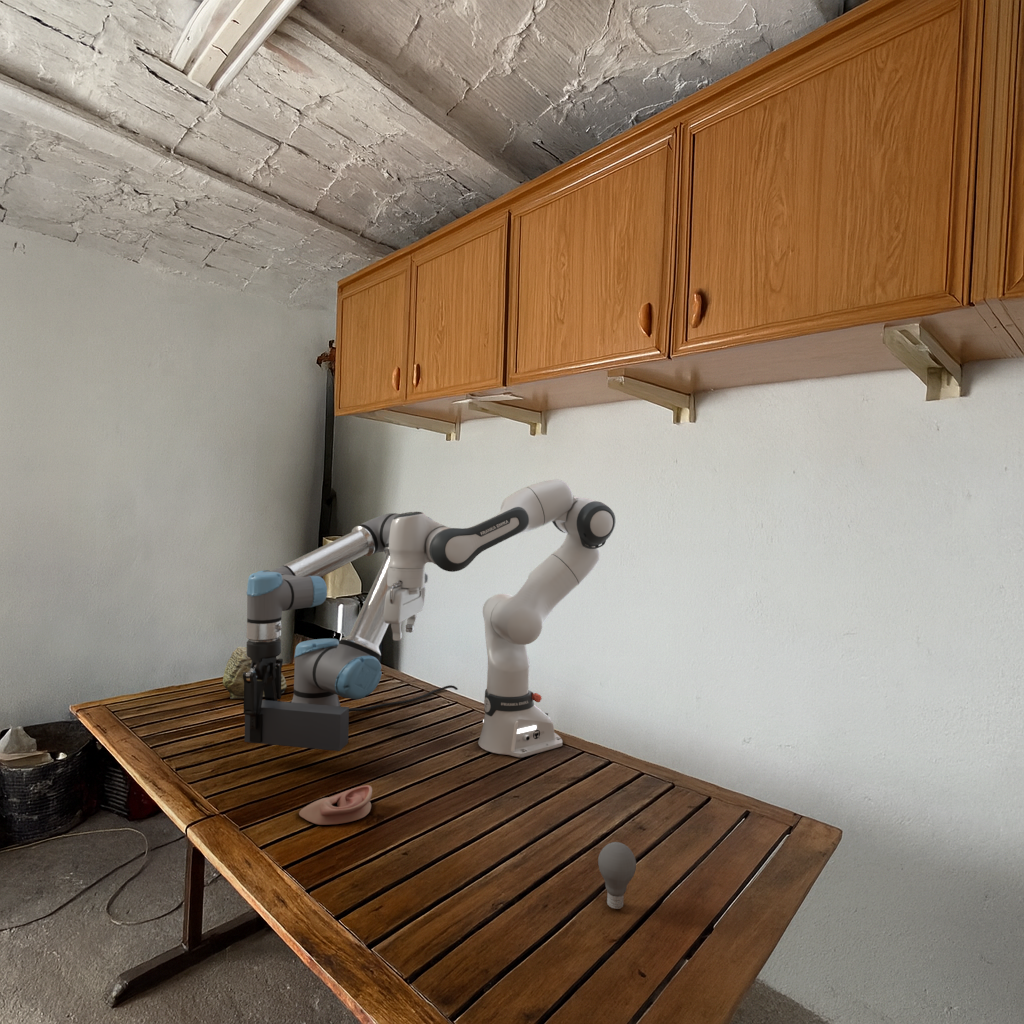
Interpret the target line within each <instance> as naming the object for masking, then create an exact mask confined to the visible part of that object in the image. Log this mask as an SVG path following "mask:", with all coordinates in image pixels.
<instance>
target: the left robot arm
mask: <svg viewBox="0 0 1024 1024" xmlns="http://www.w3.org/2000/svg"><path fill="white" fill-rule="evenodd" d="M399 514H400V513H396V512H395V513H394V512H392V513H384V514H381V515H379V516H376V517H373V518H371V519H368V520H366V521H364V522H362V523H360V524H358V525H356V526H354V527H353V528H352V529H351V532H349V533H347V534H345V535H343V536H341V537H339V538H337V539H335V540H333V541H331V542H329V543H327V544H325V545H323V546H320V547H318V548H316V549H314V550H313V551H310V552H308V553H305V554H304V555H302V556H299V557H298V558H296V559H294V560H291V561H289V562H287V563H285V564H283V565H280V566H278V567H276V568H274V569H271V570H267V569H265V570H258V571H257V572H256V571H255V572H253V573H251V574H250V575H249V576H248V578H247V579H248V580H247V588H246V639H248V640H247V641H246V647H247V656H248V657H250V658H251V660H252V662H251V666H250V671H249V672H244V673H243V680H244V698H243V715H244V716H245V715H250V742H257V743H256V744H261V742H262V726H263V714H260V712H261V705H262V700H263V699H264V700H270V701H279V700H281V699H282V693H281V673H282V668H283V662H284V659H283V658H281V657H280V658H278V656H280V655H281V653H282V639H281V638H280V637H281V636H282V629H283V626H282V618H283V617H282V615H283V612H285V611H286V612H287V611H291V610H298V609H299V610H300V609H305V608H314V607H317V606H320V605H322V604H323V603H324V602H325V601H326V600H327V596H328V586H327V583H326V581H325V579H324V578H322V577H324V576H327V575H329V574H330V573H332V572H334V571H336V570H337V569H340V568H342V567H344V566H345V565H348V564H349V563H351V562H353V561H355V560H357V559H360V558H361V557H370V556H372V555H375V554H377V553H383V554H384V556H385V557H384V560H383V562H382V564H381V566H380V569H379V571H378V572H377V575H376V576H375V579H374V581H373V584H372V586H371V588H370V590H369V592H368V594H367V596H366V598H365V600H364V602H363V605H362V607H361V609H360V611H359V613H358V615H357V618H356V619H355V621H354V624H353V625H352V628H351V630H350V632H349V634H348V635H346V636H344V637H341V638H340V640H339V639H337V638H317V639H316V638H315V639H308V640H304V641H300V642H299V643H298V644H297V645H296V646H295V650H294V655H293V657H294V672H293V673H294V674H293V695H292V696H293V697H292V699H291V702H294V703H305V704H317V705H328V706H340V707H342V706H341V702H340V699H339V697H341V698H344V699H351V700H362V699H364V698H366V697H368V696H369V695H371V694H372V693H373V692H374V691H375V690H376V688H377V687H378V685H379V683H380V681H381V680H382V679H381V678H382V673H383V672H382V664H381V662H380V659H381V656H382V653H381V650H380V645H381V643H382V641H383V638H384V636H385V634H386V632H387V629H388V627H389V625H390V624H387V623H385V622H384V607H385V598H386V594H387V592H388V590H390V589H391V588H392V587H389V586H388V585H387V577H388V563H389V560H390V552H389V535H390V527H391V523H392V520H393V518H394V517H395V516H397V515H399ZM427 517H428V518H430V519H432V518H431V517H430V516H427ZM258 680H262V681H258ZM446 689H454V690H455V691H457V690H459V688H458V687H457V686H455V685H452V684H451V685H449V684H448V685H446V686H443V687H439V688H437V689H433V690H431V691H429V692H427V693H424V694H422V695H419V696H416V697H413V698H409V699H403V700H399V701H398V700H397V701H392V702H391V701H390V702H385V703H380V704H375V705H371V706H367V707H359V708H358V707H356V708H355V707H353V708H352V707H351V708H350V707H349V712H365V711H369V710H370V711H371V710H374V709H379V708H382V707H388V706H394V705H402V704H407V703H408V704H409V703H411V702H415V701H418V700H421V699H423V698H427V697H429V696H431V695H432V694H434V693H437V692H441V691H444V690H446ZM263 691H264V695H265V697H263ZM276 693H277V694H276ZM250 742H249V743H250Z"/></svg>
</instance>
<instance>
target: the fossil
mask: <svg viewBox="0 0 1024 1024" xmlns="http://www.w3.org/2000/svg"><path fill="white" fill-rule="evenodd" d="M251 662H252V660H251V658H250V657H248V656H247V646H246V647H245V646H238V647H237V648H236V649H235V650H233V651H232V653H231V656H230V657H229V659H228V660H227V663H226V666H225V668H224V671H223V675H222V676H223V677H222V685H223V687H224V688H225V690H226V691H228V693H229V698H230V699H244V680H243V673H244V672H249V671H250V666H251ZM258 681H262V680H258ZM287 687H288V686H287V680H286V678H285V676H284V674H283V673H282V672H281V694H284V693H285V691H286V689H287ZM276 694H277V693H276ZM263 698H265V695H264V691H263Z"/></svg>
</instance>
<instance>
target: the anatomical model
mask: <svg viewBox="0 0 1024 1024" xmlns="http://www.w3.org/2000/svg"><path fill="white" fill-rule="evenodd" d="M372 795H373V787H372V786H371V785H369V784H367V785H366V784H365V785H361V786H356V787H354V788H351V789H350V788H349V789H347V790H345V791H341V792H340V793H337V794H334V795H332V796H329V797H328V796H327V797H323V798H320V799H317V800H315V801H313V802H311V803H309V804H307V805H306V806H304V807H303V808H301V809H300V810H299V812H298V815H299V817H300V818H302V819H304V820H306V821H307V822H310V823H311V824H315V825H319V826H328V825H339V824H346V823H351V822H354V821H357V820H361V819H363V818H365V817H366V816H367V815H368V814H369V813H370V812H371V809H372V803H371V798H372V797H373V796H372Z"/></svg>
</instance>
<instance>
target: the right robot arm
mask: <svg viewBox="0 0 1024 1024" xmlns="http://www.w3.org/2000/svg"><path fill="white" fill-rule="evenodd" d="M398 514H399V515H397V516H395V517H394V518H393V520H392V523H391V527H390V535H389V552H390V560H389V563H388V577H387V585H388V586H389V587H392V588H391V589H390V590H388V592H387V594H386V598H385V607H384V622H385V623H387V624H389V625H390V628H391V633H392V640H393V641H395V642H399V641H401V640H402V639H403V632H402V625H403V623H402V622H404V621H406V624H405V632H406V633H413V632H414V631H415V624H416V620H417V618H418V617H417V615H418V613H420V612H422V611H423V609H424V606H425V598H426V590H427V589H426V588H427V587H426V586H427V585H426V584H427V583H428V582H429V574H427V573H426V565H427V564H428V563H432V564H434V565H436V566H437V567H438V568H439V569H441V570H443V571H445V572H451V573H454V572H459V571H462V570H464V569H465V568H467V567H468V566H469V565H470V564H472V562H473V561H474V560H475V559H476V558H477V557H478V556H479V555H480V554H481V553H482V552H485V551H486V550H488V549H490V548H492V547H495V546H496V545H498V544H500V543H502V542H504V541H506V540H509V539H510V538H512V537H515V536H518V535H521V534H525V533H528V532H529V533H530V532H531V531H534V530H538V529H539V528H542V527H544V526H546V525H548V524H550V523H552V524H553V525H554V527H555V528H556V529H557V530H558V531H559V532H561V533H564V534H566V536H565V537H564V538H565V539H564V540H563V543H562V544H561V545H560V546H559V547H558V548H557V549H556V550H554V551H553V552H552V553H551V554H549V555H548V556H547V557H546V558H545V559H544V560H543V561H541V562H540V564H538V565H537V566H536V567H535V568H534V569H532V570H531V571H530V573H529V574H528V576H527V579H526V580H525V582H524V583H523V585H522V586H521V587H520V589H519V590H518V591H517V592H516V593H514V595H513V594H511V593H507V592H506V593H503V592H501V593H496V594H493V595H491V596H489V597H488V598H487V599H486V600H485V602H484V604H483V605H482V617H483V623H484V635H485V645H486V655H487V670H486V671H487V672H486V673H487V674H486V689H485V690H484V699H483V712H484V717H483V719H482V727H481V731H480V736H479V739H478V741H477V744H478V746H479V747H480V748H481V749H482V750H484V751H486V752H490V753H493V754H498V755H507V756H512V757H515V758H525V757H529V756H532V755H536V754H539V753H543V752H546V751H550V750H555V749H557V748H561V747H563V739H562V737H561V736H560V735H559V734H558V733H556V732H555V726H554V723H553V720H552V718H551V717H550V716H549V712H545V711H543V710H542V709H541V708H539V707H538V706H537V705H535V702H536V703H540V702H541V701H542V699H543V698H542V696H541V694H539V693H537V692H535V693H534V692H533V691H531V690H530V666H531V664H530V658H529V654H528V650H527V645H529V644H532V643H533V642H535V641H536V640H537V639H538V638H539V637H540V635H541V633H542V630H543V625H544V624H545V622H546V621H547V619H548V618H549V617H550V615H551V614H552V612H553V611H554V610H555V608H556V607H557V606H558V605H559V604H560V603H561V602H562V601H563V600H564V599H565V598H566V597H567V596H569V594H571V592H573V591H574V590H575V589H576V588H577V587H578V586H579V585H580V584H581V583H583V581H584V580H585V579H586V578H587V577H588V576H589V575H590V574H591V573H592V571H593V570H594V569H595V568H596V566H597V565H598V563H599V561H600V558H601V552H600V549H599V548H601V547H603V546H604V545H605V544H606V542H607V540H609V538H610V536H611V535H612V534H613V532H614V529H615V526H616V515H615V513H614V511H613V510H612V508H611V507H610V506H609V505H607V504H605V503H604V502H601V501H599V500H598V501H597V500H594V499H593V498H589V497H582V496H576V495H573V491H572V488H571V487H570V486H569V484H568V483H567V482H565V480H562V479H561V478H560V479H559V478H553V479H548V480H543V481H539V482H536V483H533V484H530V485H527V486H525V487H523V488H520V489H518V490H516V491H514V492H513V493H511V494H510V495H508V496H507V497H505V498H504V499H503V500H502V502H501V504H500V511H499V512H498V513H497V514H496V515H494V516H492V517H489V518H487V519H485V520H483V521H481V522H478V523H477V524H474V525H471V526H469V527H465V528H459V527H458V528H457V527H450V526H447V525H445V524H442V523H439V522H437V521H436V520H434V519H432V518H431V517H429V516H427V515H426V514H425V513H424V512H423V511H409V512H402V513H398ZM428 517H429V518H428ZM430 518H431V519H430Z"/></svg>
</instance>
